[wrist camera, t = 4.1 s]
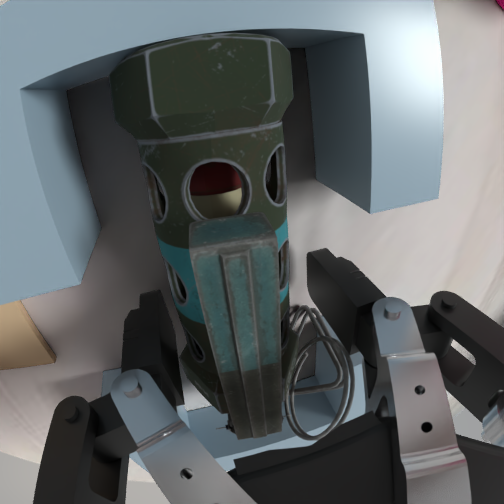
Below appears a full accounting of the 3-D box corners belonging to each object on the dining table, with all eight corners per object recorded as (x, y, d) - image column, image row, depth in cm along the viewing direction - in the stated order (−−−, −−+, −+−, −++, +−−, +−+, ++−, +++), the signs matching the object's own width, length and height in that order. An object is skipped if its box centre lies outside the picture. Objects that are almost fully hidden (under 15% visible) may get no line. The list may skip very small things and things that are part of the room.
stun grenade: (128, 74, 8) (196, 372, 15) (39, 50, 3) (208, 481, 10) (313, 56, 9) (311, 350, 16) (442, 34, 3) (354, 449, 10)
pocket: (-13, 60, 5) (-71, 57, 2) (366, -4, 8) (428, -20, 5) (155, 436, 17) (161, 481, 14) (352, 380, 19) (376, 417, 16)
